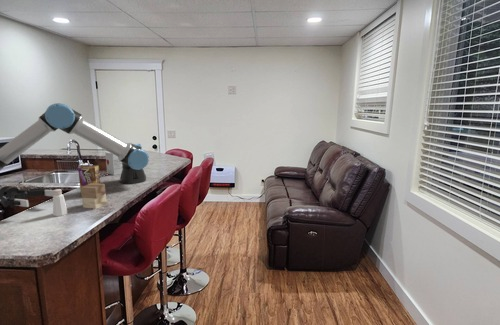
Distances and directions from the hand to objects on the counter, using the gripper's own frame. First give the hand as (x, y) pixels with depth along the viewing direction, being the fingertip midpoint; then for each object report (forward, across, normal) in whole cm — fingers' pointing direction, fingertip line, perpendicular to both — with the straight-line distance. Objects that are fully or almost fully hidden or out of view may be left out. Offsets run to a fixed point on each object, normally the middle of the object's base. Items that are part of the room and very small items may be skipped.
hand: (43, 198), depth 125 cm
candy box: (-1, -27, -7) cm, 28 cm away
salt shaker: (+8, 0, -7) cm, 11 cm away
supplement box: (-20, -71, -7) cm, 74 cm away
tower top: (+14, -13, -2) cm, 20 cm away
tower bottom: (+14, -13, -7) cm, 20 cm away
